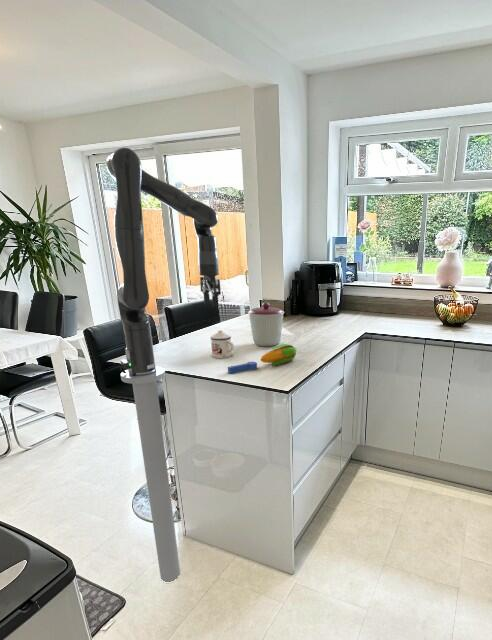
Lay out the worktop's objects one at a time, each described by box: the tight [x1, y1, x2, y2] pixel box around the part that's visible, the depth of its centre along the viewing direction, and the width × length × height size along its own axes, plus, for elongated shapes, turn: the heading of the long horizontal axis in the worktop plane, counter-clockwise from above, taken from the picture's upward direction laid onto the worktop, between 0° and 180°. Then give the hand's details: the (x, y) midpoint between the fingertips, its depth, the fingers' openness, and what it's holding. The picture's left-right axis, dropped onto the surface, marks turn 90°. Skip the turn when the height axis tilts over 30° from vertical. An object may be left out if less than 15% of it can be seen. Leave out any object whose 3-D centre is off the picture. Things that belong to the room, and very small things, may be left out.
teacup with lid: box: [210, 329, 235, 359], centre depth 178 cm, size 12×9×12 cm
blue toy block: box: [227, 361, 258, 375], centre depth 160 cm, size 12×4×2 cm, turn 127°
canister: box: [247, 301, 285, 347], centre depth 199 cm, size 18×18×21 cm
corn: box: [260, 343, 298, 366], centre depth 169 cm, size 7×8×20 cm
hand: (211, 304), depth 162 cm, fingers open, 8 cm apart
